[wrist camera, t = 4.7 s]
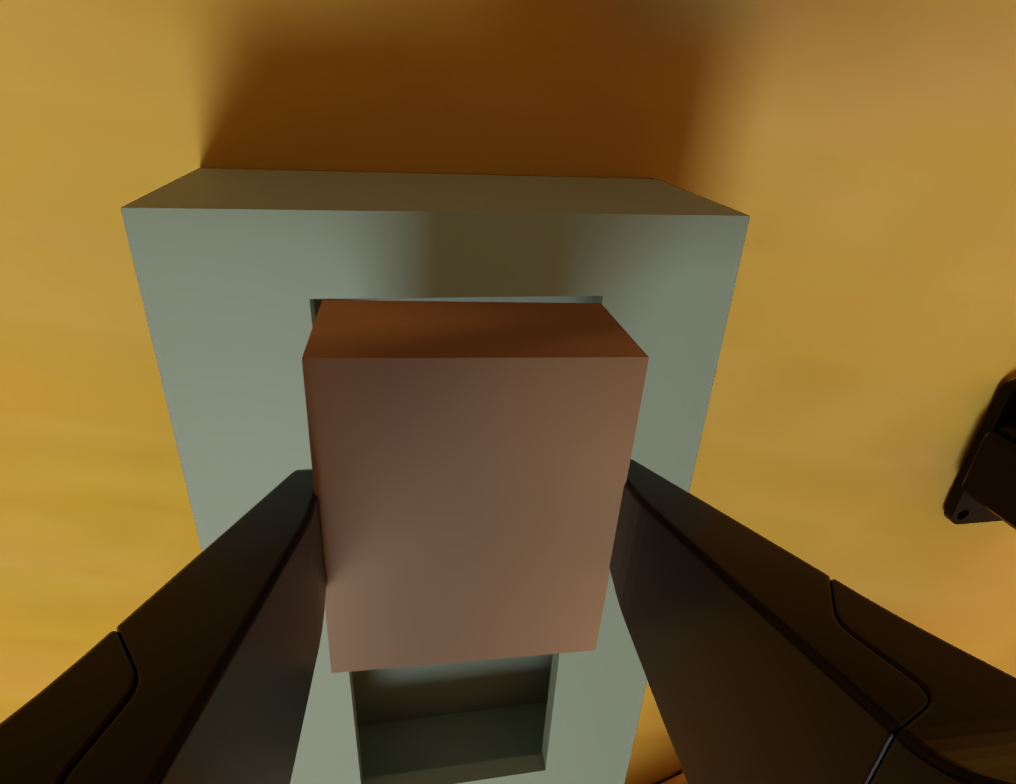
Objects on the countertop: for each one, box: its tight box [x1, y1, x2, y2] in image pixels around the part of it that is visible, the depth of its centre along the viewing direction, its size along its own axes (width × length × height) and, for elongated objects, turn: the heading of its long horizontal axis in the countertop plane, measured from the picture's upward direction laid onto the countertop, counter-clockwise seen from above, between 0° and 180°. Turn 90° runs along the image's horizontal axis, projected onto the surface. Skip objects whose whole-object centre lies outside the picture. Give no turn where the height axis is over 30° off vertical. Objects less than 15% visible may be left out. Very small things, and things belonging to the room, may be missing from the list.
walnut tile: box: [302, 300, 649, 673], centre depth 9 cm, size 4×5×2 cm
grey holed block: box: [121, 168, 750, 784], centre depth 18 cm, size 12×20×5 cm, turn 177°
